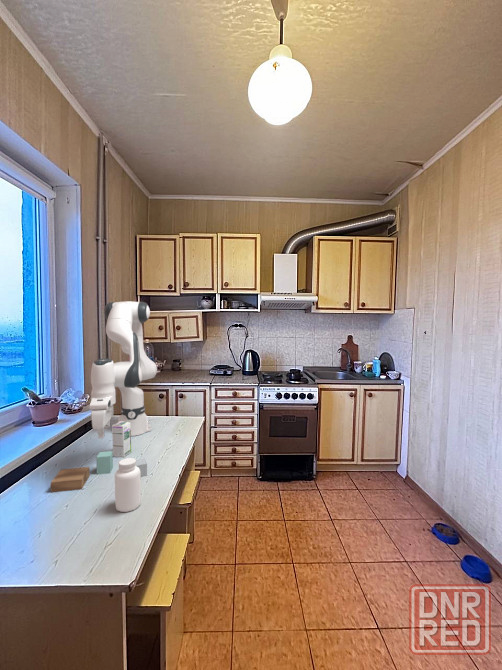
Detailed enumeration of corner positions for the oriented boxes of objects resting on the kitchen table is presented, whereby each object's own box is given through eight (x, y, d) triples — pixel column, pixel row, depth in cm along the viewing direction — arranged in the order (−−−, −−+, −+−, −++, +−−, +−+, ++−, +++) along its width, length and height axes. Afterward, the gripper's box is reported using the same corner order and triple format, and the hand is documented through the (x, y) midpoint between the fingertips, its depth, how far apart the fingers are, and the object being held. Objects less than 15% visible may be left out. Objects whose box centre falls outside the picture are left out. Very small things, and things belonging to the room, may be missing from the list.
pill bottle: (121, 498, 107) (121, 455, 107) (144, 498, 107) (144, 456, 106) (110, 512, 99) (109, 466, 99) (135, 513, 99) (134, 467, 98)
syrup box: (124, 457, 139) (123, 425, 138) (112, 456, 140) (111, 424, 139) (131, 452, 144) (131, 421, 144) (120, 451, 145) (119, 420, 145)
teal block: (99, 468, 128) (99, 452, 128) (112, 467, 130) (112, 451, 129) (96, 474, 124) (96, 457, 123) (110, 473, 125) (110, 456, 124)
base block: (61, 479, 120) (61, 469, 120) (89, 476, 123) (89, 466, 122) (51, 493, 111) (50, 482, 110) (81, 490, 113) (81, 479, 113)
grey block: (131, 473, 125) (131, 461, 125) (144, 470, 127) (144, 458, 127) (133, 478, 120) (133, 466, 120) (147, 476, 123) (146, 463, 123)
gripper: (101, 394, 134) (102, 425, 135) (87, 406, 114) (88, 443, 115) (117, 393, 136) (117, 424, 136) (106, 405, 116) (107, 442, 116)
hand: (104, 433), depth 125 cm, fingers open, 8 cm apart
